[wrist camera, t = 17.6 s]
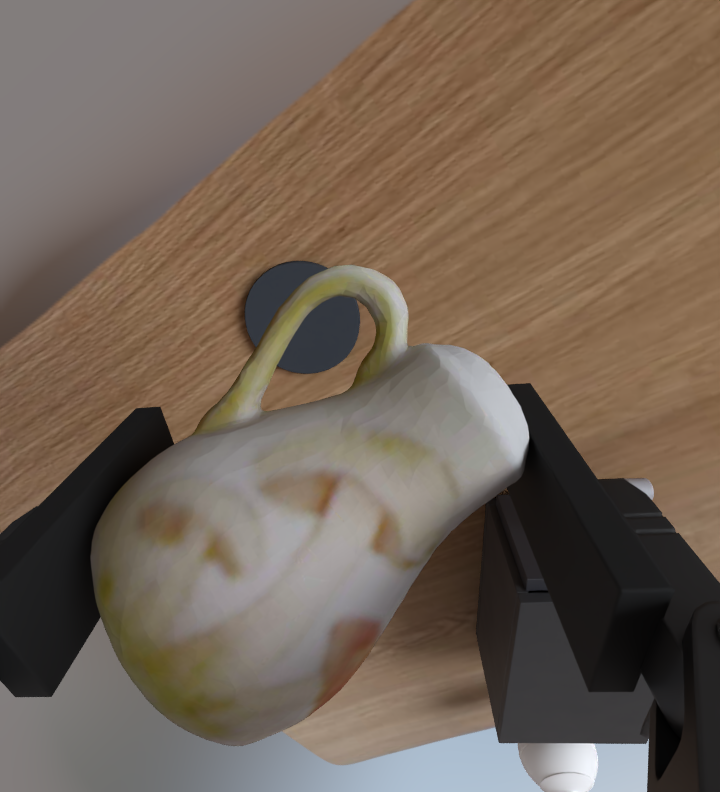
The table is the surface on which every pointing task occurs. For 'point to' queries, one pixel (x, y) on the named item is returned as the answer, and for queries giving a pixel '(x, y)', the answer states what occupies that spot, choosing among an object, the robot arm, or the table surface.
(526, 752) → the white rounded knobbed vessel
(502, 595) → the cabinet
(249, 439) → the mug
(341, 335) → the coaster
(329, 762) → the table surface
